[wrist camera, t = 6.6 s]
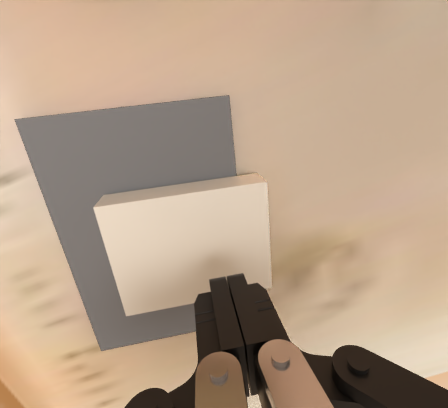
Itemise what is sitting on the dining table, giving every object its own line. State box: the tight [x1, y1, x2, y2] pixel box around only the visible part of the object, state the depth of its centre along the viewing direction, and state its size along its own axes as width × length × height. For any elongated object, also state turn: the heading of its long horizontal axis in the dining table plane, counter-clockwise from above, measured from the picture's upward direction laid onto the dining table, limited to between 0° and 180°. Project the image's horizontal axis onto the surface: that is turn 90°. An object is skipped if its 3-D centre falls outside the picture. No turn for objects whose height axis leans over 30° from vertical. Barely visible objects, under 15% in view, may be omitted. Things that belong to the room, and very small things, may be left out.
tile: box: [93, 173, 272, 316], centre depth 16 cm, size 7×2×9 cm
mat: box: [15, 95, 237, 351], centre depth 17 cm, size 16×11×1 cm
